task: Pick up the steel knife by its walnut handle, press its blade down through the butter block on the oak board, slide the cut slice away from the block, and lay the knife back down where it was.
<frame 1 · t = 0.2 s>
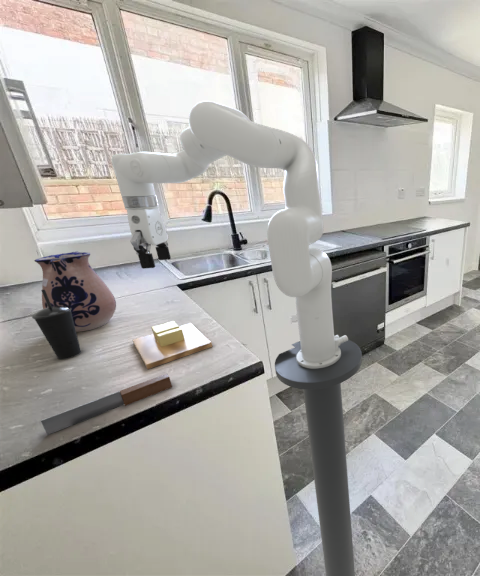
hand: (157, 263, 90), 24 cm above the countertop, tool pointing down, fingers open, 9 cm apart
butter block: (167, 336, 95), point 1 cm above the countertop, touching board
drinking cup: (69, 355, 89), on the countertop
butter slice: (172, 342, 92), point 1 cm above the countertop, touching board
knife: (148, 394, 72), on the countertop
ceramic pitcher: (90, 325, 108), on the countertop
board: (172, 345, 93), on the countertop
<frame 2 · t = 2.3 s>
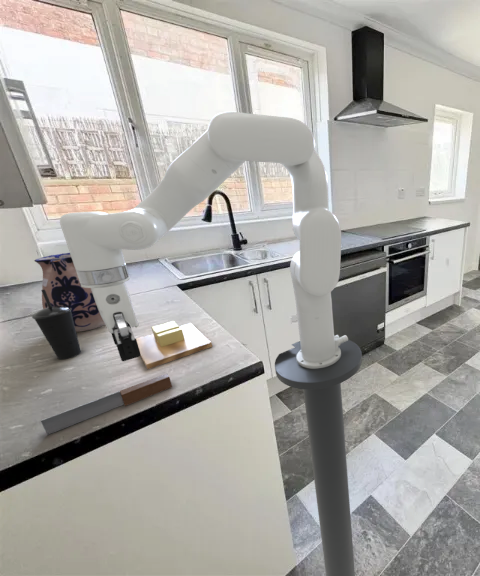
hand: (127, 350, 67), 12 cm above the countertop, tool pointing down, fingers open, 9 cm apart
nothing on the countertop moved.
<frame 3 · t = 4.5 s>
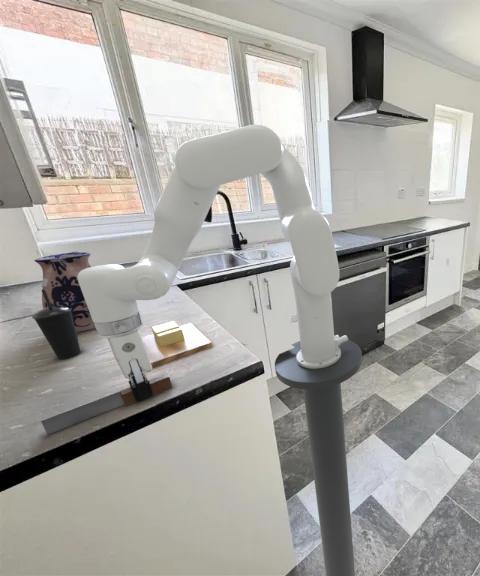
hand: (143, 395, 71), 0 cm above the countertop, tool pointing down, fingers closed on knife, 2 cm apart
knife: (148, 394, 72), on the countertop, touching gripper
everything else where it was.
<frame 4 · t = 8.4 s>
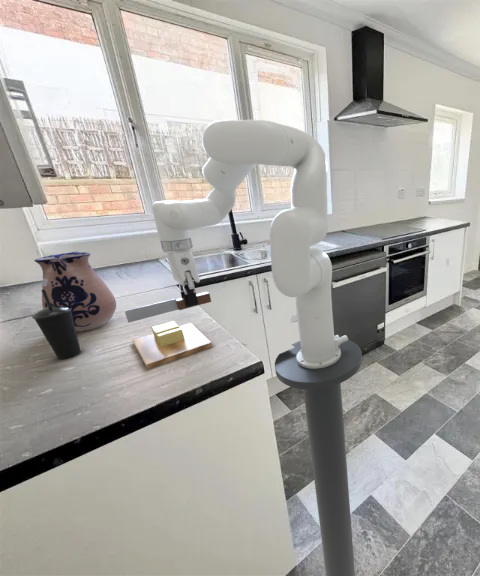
hand: (190, 303, 95), 11 cm above the countertop, tool pointing down, fingers closed on knife
knife: (194, 305, 96), point 10 cm above the countertop, touching gripper
everything else where it was.
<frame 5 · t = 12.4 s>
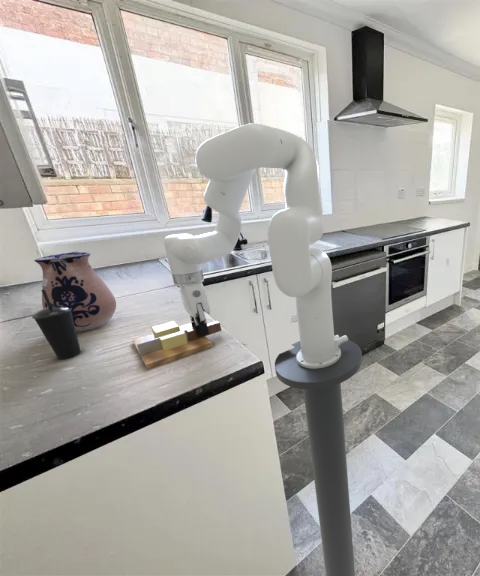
hand: (201, 333, 95), 2 cm above the countertop, tool pointing down, fingers closed on knife, 2 cm apart
butter slice: (175, 346, 90), point 2 cm above the countertop, touching board, knife
knife: (205, 334, 96), point 2 cm above the countertop, touching butter slice, gripper
everything else where it was.
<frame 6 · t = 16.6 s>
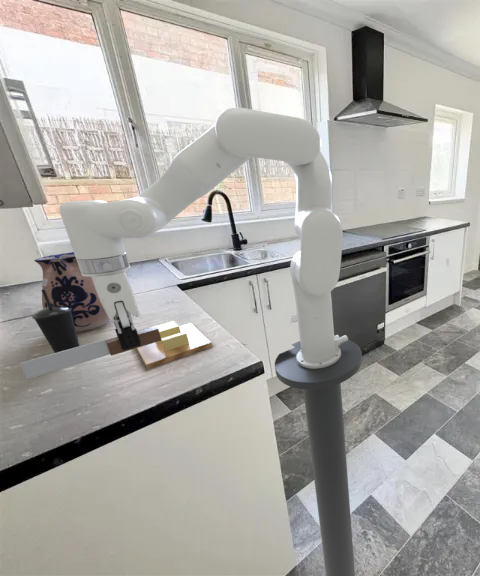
hand: (130, 344, 68), 13 cm above the countertop, tool pointing down, fingers closed on knife
butter slice: (176, 346, 89), point 1 cm above the countertop, touching board
knife: (136, 346, 69), point 12 cm above the countertop, touching gripper
everything else where it was.
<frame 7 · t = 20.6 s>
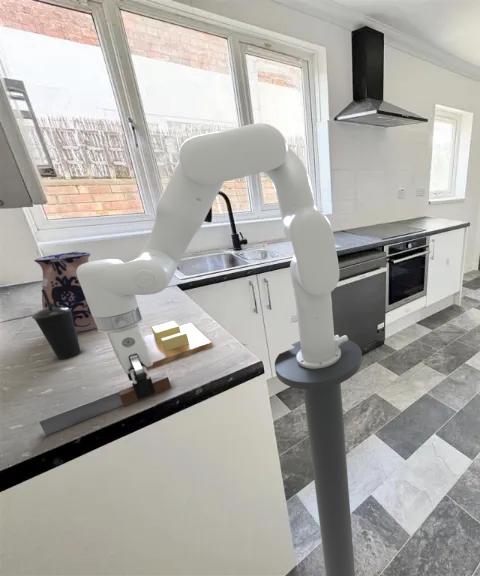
hand: (142, 386, 70), 3 cm above the countertop, tool pointing down, fingers open, 9 cm apart
knife: (147, 394, 72), on the countertop
everything else where it was.
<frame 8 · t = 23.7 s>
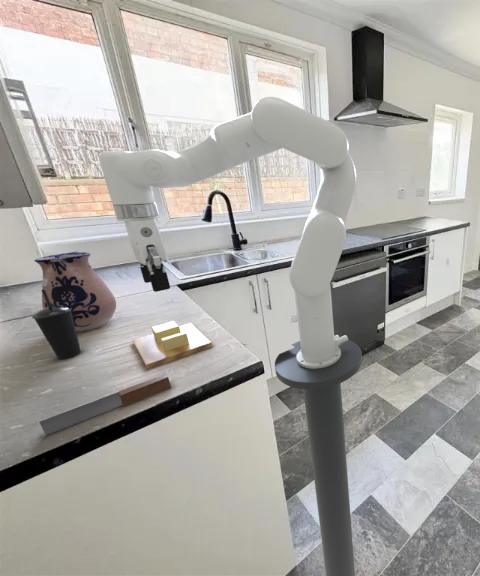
hand: (157, 285, 74), 23 cm above the countertop, tool pointing down, fingers open, 9 cm apart
nothing on the countertop moved.
at the end: butter slice inside the target area on the board (0.8 cm from its centre), point 1.5 cm above the board's base; butter block moved 0.0 cm from its start; knife inside the target area (0.2 cm from its centre), on the countertop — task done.
